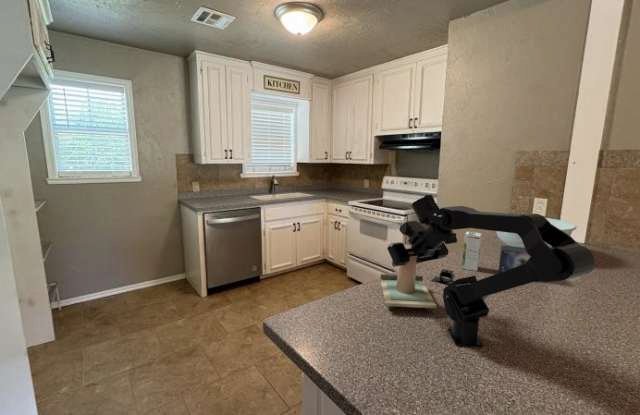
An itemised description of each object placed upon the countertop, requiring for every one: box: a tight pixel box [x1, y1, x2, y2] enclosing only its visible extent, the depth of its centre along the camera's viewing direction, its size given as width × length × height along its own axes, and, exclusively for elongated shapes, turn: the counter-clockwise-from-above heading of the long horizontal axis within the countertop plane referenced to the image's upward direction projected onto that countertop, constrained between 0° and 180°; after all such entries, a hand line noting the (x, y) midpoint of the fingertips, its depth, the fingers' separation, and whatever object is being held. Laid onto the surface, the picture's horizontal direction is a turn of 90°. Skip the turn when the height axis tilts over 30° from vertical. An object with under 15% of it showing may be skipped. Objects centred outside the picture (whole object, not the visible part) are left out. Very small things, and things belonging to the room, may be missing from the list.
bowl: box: [495, 217, 578, 248], centre depth 140 cm, size 32×32×15 cm
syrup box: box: [461, 231, 483, 272], centre depth 119 cm, size 6×6×14 cm
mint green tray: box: [380, 273, 437, 313], centre depth 94 cm, size 18×14×4 cm
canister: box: [396, 244, 418, 294], centre depth 93 cm, size 6×6×14 cm
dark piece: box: [430, 268, 455, 286], centre depth 107 cm, size 12×7×5 cm, turn 52°
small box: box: [498, 244, 530, 273], centre depth 112 cm, size 11×6×10 cm, turn 62°
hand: (404, 263), depth 93 cm, fingers open, 9 cm apart
